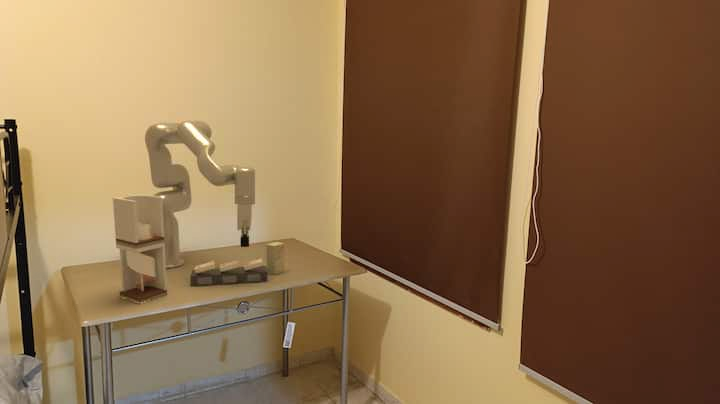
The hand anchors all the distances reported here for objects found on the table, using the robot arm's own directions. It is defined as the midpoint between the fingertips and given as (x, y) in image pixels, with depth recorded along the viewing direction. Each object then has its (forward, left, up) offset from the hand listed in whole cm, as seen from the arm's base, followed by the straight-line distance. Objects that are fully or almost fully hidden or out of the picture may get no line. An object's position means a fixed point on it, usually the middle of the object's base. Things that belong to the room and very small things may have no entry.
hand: (244, 246), depth 184 cm
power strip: (-6, 0, -13) cm, 15 cm away
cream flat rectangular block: (-6, 0, -7) cm, 9 cm away
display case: (-35, -11, -14) cm, 39 cm away
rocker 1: (-15, 0, -7) cm, 17 cm away
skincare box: (+12, +7, -14) cm, 19 cm away
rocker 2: (+3, 0, -7) cm, 8 cm away
